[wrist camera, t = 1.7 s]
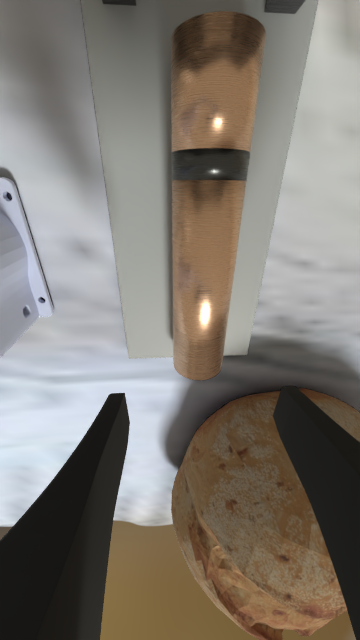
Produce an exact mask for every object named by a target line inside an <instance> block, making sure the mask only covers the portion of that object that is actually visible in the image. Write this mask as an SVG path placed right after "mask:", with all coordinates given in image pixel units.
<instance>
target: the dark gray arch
mask: <svg viewBox="0 0 360 640" xmlns="http://www.w3.org/2000/svg"><path fill="white" fill-rule="evenodd" d="M102 2H103V4H111V5H130V6H136V0H102ZM304 2H305V0H266V3H265V11H264V12H265V13H284V14H296V12H297V11H298V10H299V8H300V7H301V6H302V4H303V3H304Z"/></svg>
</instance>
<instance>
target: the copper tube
mask: <svg viewBox="0 0 360 640" xmlns="http://www.w3.org/2000/svg"><path fill="white" fill-rule="evenodd" d="M265 39H266V30H265V28H264V26H263V25H262V23H260V22H259V21H258V20H257V19H255V18H254V17H251V16H249V15H246V14H243V13H238V12H230V11H218V12H210V13H205V14H201V15H197V16H195V17H192V18H190V19H188V20H186V21H184V22H183V23H181V24H180V25H179V26H178V27H177V28H176V29H175V30H174V32H173V34H172V36H171V125H172V248H173V364H174V368H175V369H176V371H177V372H178V373H179V374H180V375H182V376H184V377H186V378H188V379H192V380H207V379H210V378H213V377H214V376H216V375H217V374H218V373H219V372H220V370H221V368H222V361H223V353H224V346H225V338H226V331H227V323H228V316H229V308H230V301H231V293H232V286H233V279H234V271H235V264H236V256H237V249H238V241H239V234H240V226H241V219H242V211H243V204H244V196H245V189H246V181H247V174H248V166H249V159H250V152H251V144H252V137H253V129H254V122H255V114H256V107H257V99H258V92H259V84H260V77H261V69H262V62H263V54H264V47H265Z"/></svg>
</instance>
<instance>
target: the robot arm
mask: <svg viewBox="0 0 360 640" xmlns="http://www.w3.org/2000/svg"><path fill="white" fill-rule="evenodd" d="M7 192H9V193H10V194H11V196H12V200H11V201H10V200H9V199H8V198H7ZM41 297H43V298H44V299H45V301H43V300H41ZM53 313H54V308H53V305H52V302H51V299H50V295H49V292H48V289H47V286H46V282H45V279H44V276H43V273H42V269H41V266H40V263H39V260H38V256H37V253H36V250H35V247H34V243H33V240H32V237H31V234H30V230H29V227H28V224H27V221H26V217H25V214H24V211H23V208H22V204H21V201H20V198H19V195H18V191H17V188H16V186H15V184H14V182H13V181H12V180H10V179H9V178H5V177H0V358H1V357H2V356H3V355H4V354H5V353H6V352H7V351H8V350H9V349H10V348H11V347H12V346H13V345H14V343H15V342H16V341H17V340H18V339H19V338H20V337H21V336H22V335H23V334H24V333H25V332H26V331H27V330H28V329H29V328H30V327H31V326H32V325H33V324H34V322H35V321H36V320H37V319H38V318H39V317H50V316H51V315H52V314H53ZM273 418H274V421H275V424H276V427H277V430H278V433H279V436H280V439H281V441H282V443H283V445H284V447H285V449H286V452H287V454H288V456H289V458H290V460H291V462H292V464H293V467H294V469H295V471H296V473H297V475H298V477H299V479H300V481H301V484H302V486H303V488H304V490H305V492H306V494H307V497H308V499H309V501H310V504H311V506H312V509H313V511H314V514H315V517H316V519H317V522H318V525H319V527H320V530H321V533H322V536H323V538H324V541H325V544H326V547H327V550H328V553H329V555H330V558H331V561H332V564H333V567H334V570H335V573H336V576H337V579H338V582H339V585H340V588H341V591H342V594H343V598H344V601H345V604H346V607H347V611H348V614H349V617H350V620H351V624H352V627H353V630H354V634H355V637H356V640H360V442H359V441H358V440H356V439H355V438H354V437H353V436H352V435H350V434H349V433H348V432H347V431H346V430H344V429H343V428H342V427H341V426H340V425H338V424H337V423H336V422H335V421H334V420H333V419H331V418H330V417H329V416H328V415H327V414H326V413H325V412H324V411H322V410H321V409H320V408H319V407H318V406H317V405H316V404H315V403H313V402H312V401H311V400H310V399H309V398H308V397H307V396H306V395H305V394H303V393H302V392H301V391H300V390H299V389H298V388H297V387H295V386H283V387H282V388H281V391H280V394H279V397H278V400H277V404H276V407H275V410H274V413H273ZM129 424H130V421H129V415H128V410H127V404H126V398H125V393H113V394H110V395H109V396H108V398H107V400H106V401H105V403H104V405H103V407H102V409H101V410H100V412H99V414H98V415H97V417H96V419H95V420H94V422H93V423H92V425H91V427H90V428H89V430H88V431H87V433H86V434H85V436H84V437H83V439H82V440H81V442H80V443H79V445H78V446H77V448H76V449H75V450H74V452H73V453H72V455H71V456H70V457H69V459H68V460H67V462H66V463H65V464H64V466H63V467H62V468H61V470H60V471H59V472H58V474H57V475H56V476H55V478H54V479H53V480H52V481H51V483H50V484H49V485H48V486H47V488H46V489H45V490H44V491H43V492H42V494H41V495H40V496H39V497H38V498H37V500H36V501H35V502H34V503H33V504H32V505H31V507H30V508H29V509H28V510H27V511H26V512H25V514H24V515H23V516H22V517H21V518H20V519H19V520H18V522H17V523H16V524H15V525H14V526H13V527H12V528H11V529H10V530H9V532H8V533H7V534H6V535H5V536H4V537H3V538H2V539H1V540H0V640H100V633H101V622H102V612H103V603H104V593H105V583H106V575H107V565H108V557H109V548H110V540H111V532H112V524H113V517H114V511H115V505H116V500H117V495H118V490H119V485H120V480H121V475H122V470H123V465H124V460H125V455H126V450H127V444H128V435H129Z"/></svg>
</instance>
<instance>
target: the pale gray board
mask: <svg viewBox="0 0 360 640" xmlns="http://www.w3.org/2000/svg"><path fill="white" fill-rule="evenodd" d="M80 2H81V9H82V16H83V24H84V31H85V38H86V46H87V53H88V60H89V68H90V75H91V83H92V90H93V97H94V105H95V112H96V119H97V127H98V134H99V141H100V149H101V156H102V164H103V171H104V178H105V186H106V193H107V200H108V208H109V215H110V223H111V230H112V237H113V245H114V252H115V259H116V267H117V274H118V281H119V289H120V296H121V304H122V311H123V318H124V326H125V333H126V340H127V348H128V355H129V358H161V357H173V248H172V125H171V36H172V34H173V32H174V30H175V29H176V28H177V27H178V26H179V25H180V24H181V23H183V22H184V21H186V20H188V19H190V18H192V17H195V16H197V15H201V14H205V13H210V12H218V11H230V12H238V13H243V14H246V15H249V16H251V17H254V18H255V19H257V20H258V21H259V22H260V23H262V25H263V26H264V28H265V30H266V39H265V47H264V54H263V62H262V69H261V77H260V84H259V92H258V99H257V107H256V114H255V122H254V129H253V137H252V144H251V152H250V159H249V166H248V174H247V181H246V189H245V196H244V204H243V211H242V219H241V226H240V234H239V241H238V249H237V256H236V264H235V271H234V279H233V286H232V293H231V301H230V308H229V316H228V323H227V331H226V338H225V346H224V353H223V356H226V355H247V352H248V348H249V343H250V338H251V333H252V328H253V323H254V318H255V313H256V308H257V303H258V298H259V293H260V288H261V283H262V278H263V273H264V268H265V263H266V258H267V253H268V248H269V243H270V238H271V233H272V228H273V223H274V218H275V213H276V208H277V203H278V198H279V194H280V189H281V184H282V179H283V174H284V169H285V164H286V159H287V154H288V149H289V144H290V139H291V134H292V129H293V124H294V119H295V114H296V109H297V104H298V99H299V94H300V89H301V84H302V79H303V74H304V69H305V64H306V59H307V54H308V49H309V45H310V40H311V35H312V30H313V25H314V20H315V15H316V10H317V5H318V0H305V2H304V3H303V4H302V6H301V7H300V8H299V10H298V11H297V12H296V14H284V13H265V12H264V11H265V3H266V0H136V6H130V5H111V4H103V2H102V0H80Z"/></svg>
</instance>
